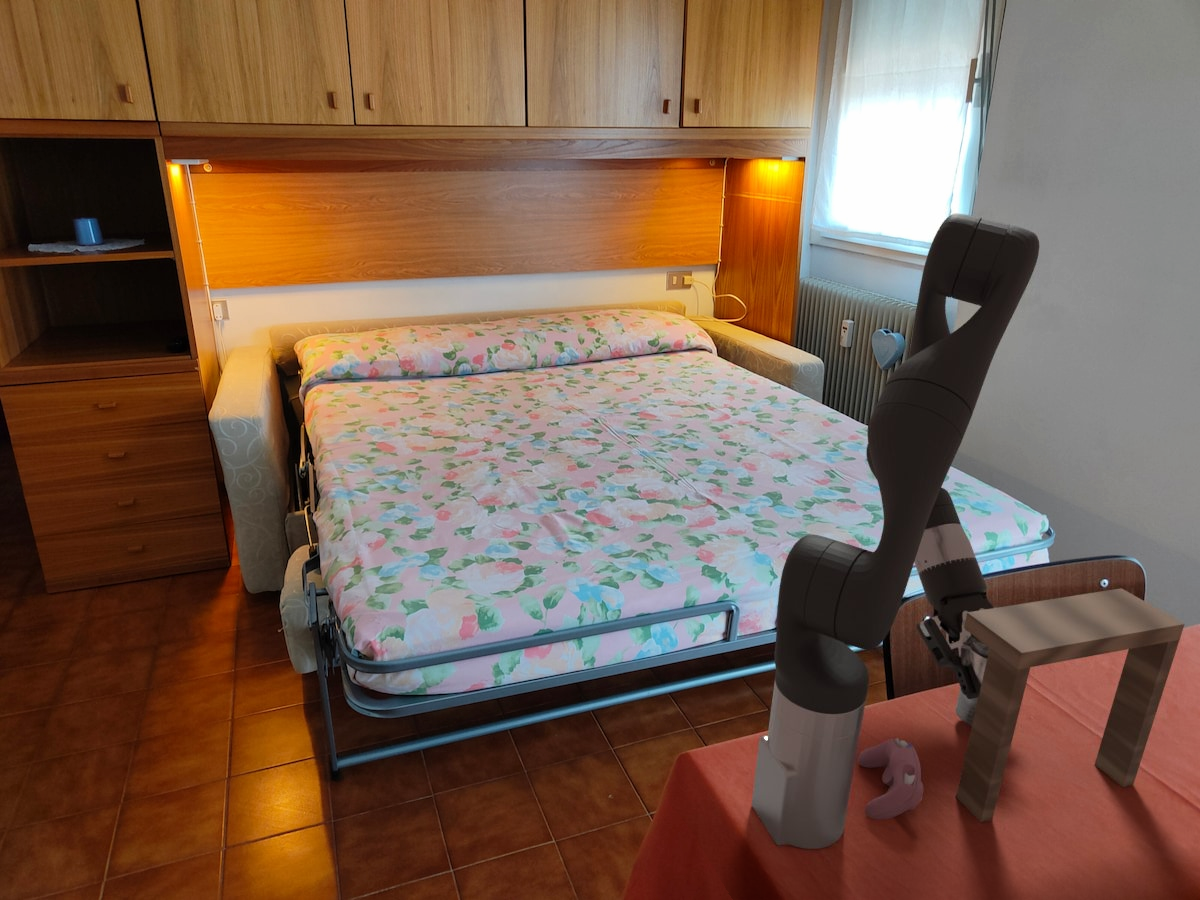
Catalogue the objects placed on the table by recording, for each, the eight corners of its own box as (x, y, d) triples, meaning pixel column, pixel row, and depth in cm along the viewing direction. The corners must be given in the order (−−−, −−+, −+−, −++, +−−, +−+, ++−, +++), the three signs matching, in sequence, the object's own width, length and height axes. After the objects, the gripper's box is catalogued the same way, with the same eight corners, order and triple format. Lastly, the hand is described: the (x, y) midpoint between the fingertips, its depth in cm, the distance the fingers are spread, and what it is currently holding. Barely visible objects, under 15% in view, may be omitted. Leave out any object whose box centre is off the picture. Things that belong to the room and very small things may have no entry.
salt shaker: (973, 730, 103) (990, 656, 99) (946, 706, 108) (962, 634, 104) (1004, 724, 105) (1022, 650, 101) (977, 700, 109) (993, 629, 105)
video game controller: (897, 837, 90) (937, 797, 88) (861, 817, 90) (900, 776, 88) (885, 775, 100) (921, 737, 97) (853, 756, 100) (888, 717, 97)
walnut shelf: (980, 822, 91) (1021, 652, 83) (933, 772, 98) (967, 612, 90) (1133, 784, 97) (1184, 623, 90) (1078, 740, 104) (1121, 588, 97)
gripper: (916, 562, 104) (964, 699, 98) (1008, 549, 108) (1060, 680, 102) (885, 578, 111) (927, 708, 104) (973, 566, 115) (1019, 690, 108)
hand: (993, 694), depth 103 cm, fingers closed on salt shaker, 4 cm apart
